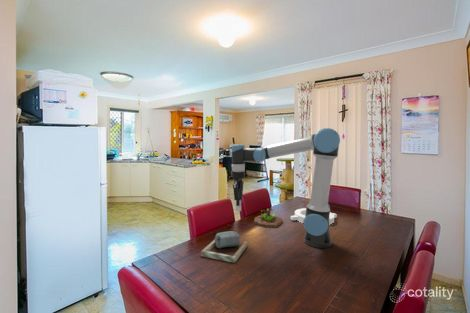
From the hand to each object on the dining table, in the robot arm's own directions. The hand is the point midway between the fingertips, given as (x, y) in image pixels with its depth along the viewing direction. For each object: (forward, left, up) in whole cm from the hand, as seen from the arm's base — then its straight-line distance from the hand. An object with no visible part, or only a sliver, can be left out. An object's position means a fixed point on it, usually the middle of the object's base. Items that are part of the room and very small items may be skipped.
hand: (238, 210), depth 145 cm
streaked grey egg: (+2, +13, -17) cm, 21 cm away
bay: (+1, +18, -17) cm, 24 cm away
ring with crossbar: (-41, -53, -17) cm, 69 cm away
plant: (-10, -33, -17) cm, 39 cm away
